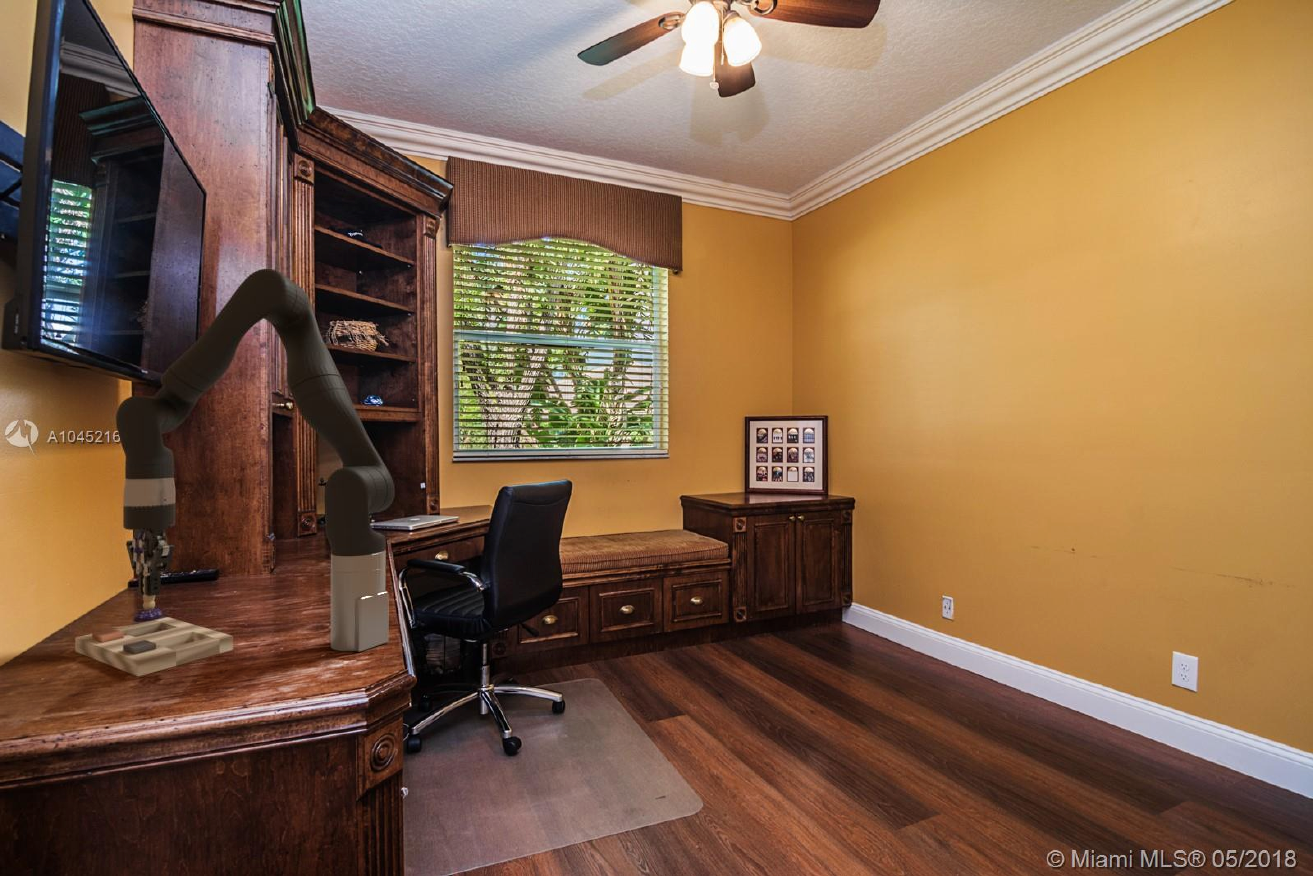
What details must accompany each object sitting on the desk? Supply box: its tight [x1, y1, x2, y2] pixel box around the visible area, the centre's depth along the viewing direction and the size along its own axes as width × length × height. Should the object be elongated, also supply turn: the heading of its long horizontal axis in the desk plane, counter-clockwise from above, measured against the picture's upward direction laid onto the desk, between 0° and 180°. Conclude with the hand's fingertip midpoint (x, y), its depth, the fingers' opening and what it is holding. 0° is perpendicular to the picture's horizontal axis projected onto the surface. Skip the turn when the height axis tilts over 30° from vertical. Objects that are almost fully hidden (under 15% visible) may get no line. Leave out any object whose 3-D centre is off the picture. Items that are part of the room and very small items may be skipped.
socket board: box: [74, 616, 234, 677], centre depth 108 cm, size 24×14×4 cm, turn 62°
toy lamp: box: [133, 531, 164, 623], centre depth 113 cm, size 5×5×17 cm
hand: (149, 593), depth 113 cm, fingers closed on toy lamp
